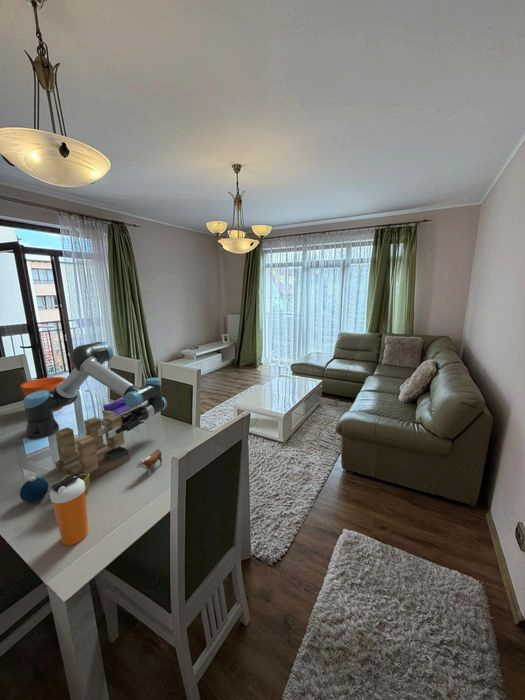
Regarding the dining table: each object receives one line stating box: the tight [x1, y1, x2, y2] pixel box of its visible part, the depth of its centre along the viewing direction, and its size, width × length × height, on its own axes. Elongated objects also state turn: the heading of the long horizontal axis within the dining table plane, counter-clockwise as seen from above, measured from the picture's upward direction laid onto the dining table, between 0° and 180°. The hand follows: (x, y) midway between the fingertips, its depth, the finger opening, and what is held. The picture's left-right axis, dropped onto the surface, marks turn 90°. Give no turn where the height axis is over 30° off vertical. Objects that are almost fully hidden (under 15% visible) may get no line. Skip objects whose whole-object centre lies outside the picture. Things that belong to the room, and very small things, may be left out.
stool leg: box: [103, 414, 125, 449], centre depth 127 cm, size 5×5×14 cm
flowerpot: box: [19, 376, 67, 413], centre depth 191 cm, size 25×25×20 cm
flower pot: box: [60, 474, 91, 498], centre depth 103 cm, size 9×9×9 cm
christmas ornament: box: [19, 475, 49, 503], centre depth 105 cm, size 8×8×10 cm
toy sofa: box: [101, 396, 139, 418], centre depth 181 cm, size 21×9×10 cm, turn 160°
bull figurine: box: [135, 449, 163, 477], centre depth 122 cm, size 4×13×8 cm, turn 158°
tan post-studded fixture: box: [54, 416, 131, 484], centre depth 127 cm, size 24×20×17 cm
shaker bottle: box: [49, 474, 89, 546], centre depth 87 cm, size 9×9×20 cm
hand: (103, 434), depth 122 cm, fingers closed on stool leg, 5 cm apart
